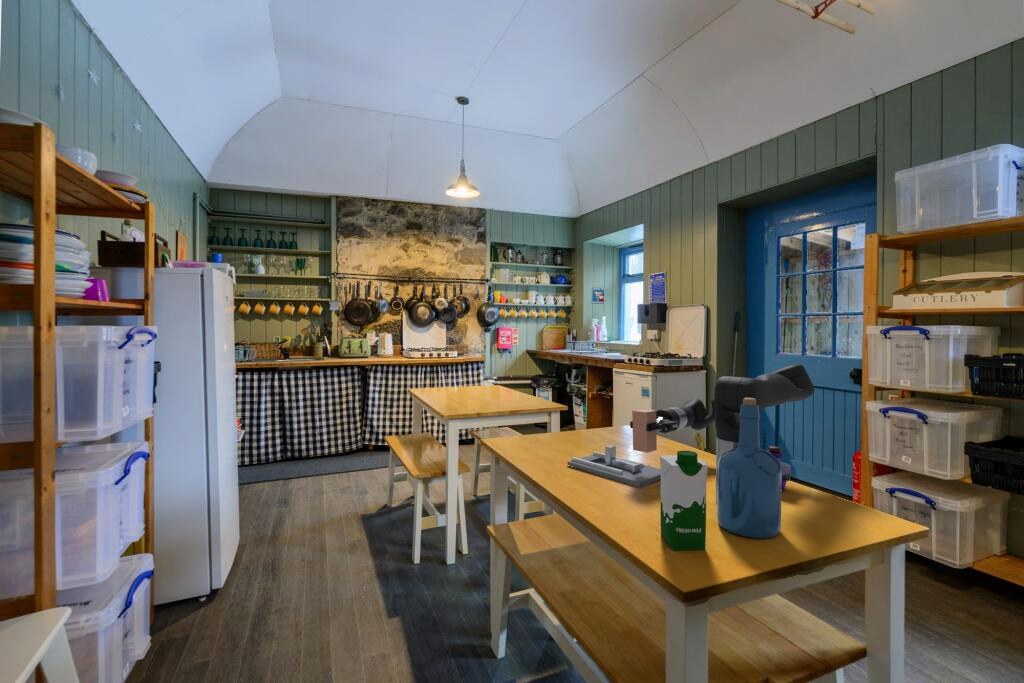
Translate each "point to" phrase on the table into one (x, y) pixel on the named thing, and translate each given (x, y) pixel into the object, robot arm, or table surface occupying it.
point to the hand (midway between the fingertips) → (639, 426)
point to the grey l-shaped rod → (611, 460)
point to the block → (644, 430)
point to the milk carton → (683, 501)
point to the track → (616, 470)
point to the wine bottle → (749, 482)
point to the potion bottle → (784, 467)
